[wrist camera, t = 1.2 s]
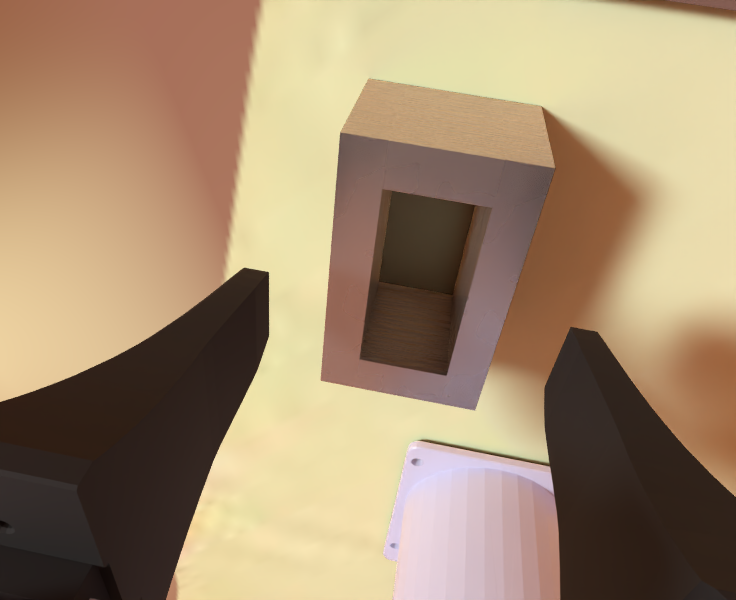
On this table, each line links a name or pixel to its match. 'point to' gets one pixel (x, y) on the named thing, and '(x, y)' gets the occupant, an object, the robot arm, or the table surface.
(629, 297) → the table surface
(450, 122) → the hollow rectangular frame
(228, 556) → the table surface
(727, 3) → the keeper
